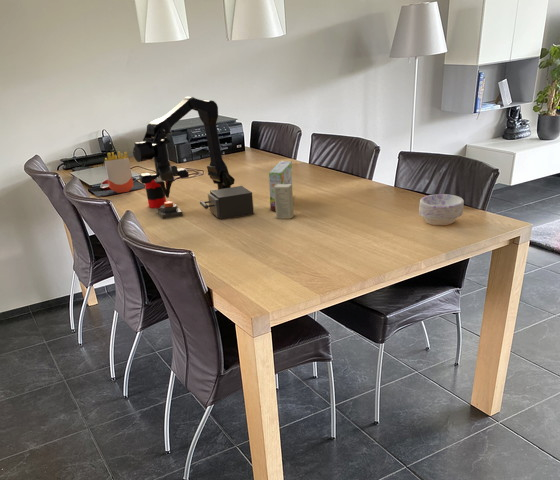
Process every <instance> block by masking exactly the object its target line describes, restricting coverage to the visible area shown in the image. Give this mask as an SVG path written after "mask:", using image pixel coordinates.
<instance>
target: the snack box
mask: <svg viewBox="0 0 560 480" xmlns="http://www.w3.org/2000/svg"><path fill="white" fill-rule="evenodd" d="M268 179H269V180H268V181H269V182H268V183H269V203H270V205H269V206H270V207H269V208H270V211H275V212H276V209H275V197H274V186H275V185H277V184H292V185H293V161H289V160H281V161H279V162H278V163H277V164H276V165H275V166H274V167H273V168H272V169H271V170H270V171H269V173H268Z"/></svg>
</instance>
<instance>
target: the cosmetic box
mask: <svg viewBox="0 0 560 480" xmlns="http://www.w3.org/2000/svg"><path fill="white" fill-rule="evenodd" d="M274 197H275V209H276V211H275V218H276V219H287V220H288V219H292V218H293V217H294V216H295V208H294V196H293V183H292V184H277V185H275V186H274Z"/></svg>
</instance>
